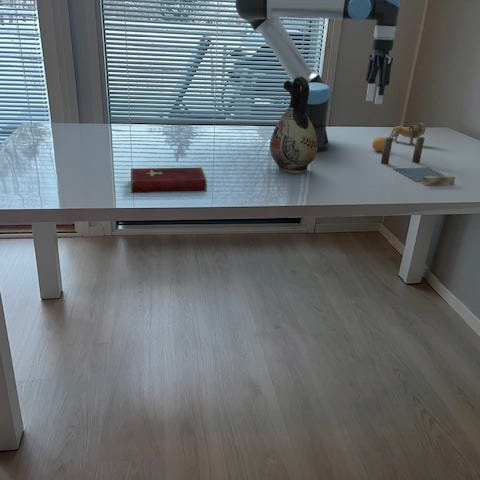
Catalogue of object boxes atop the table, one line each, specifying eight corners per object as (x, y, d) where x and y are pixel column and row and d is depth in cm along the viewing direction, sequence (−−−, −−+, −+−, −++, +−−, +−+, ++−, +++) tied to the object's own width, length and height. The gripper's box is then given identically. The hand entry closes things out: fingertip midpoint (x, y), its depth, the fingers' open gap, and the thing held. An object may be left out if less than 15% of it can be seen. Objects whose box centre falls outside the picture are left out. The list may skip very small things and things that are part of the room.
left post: (383, 164, 172) (387, 139, 168) (379, 162, 174) (383, 137, 170) (389, 164, 173) (394, 139, 169) (386, 162, 175) (390, 137, 171)
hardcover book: (206, 193, 139) (206, 178, 137) (131, 194, 135) (130, 180, 133) (201, 179, 149) (201, 166, 148) (131, 181, 145) (130, 167, 143)
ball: (375, 153, 186) (377, 138, 183) (368, 149, 191) (371, 135, 188) (388, 152, 187) (390, 138, 185) (381, 149, 192) (383, 135, 190)
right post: (414, 163, 175) (419, 138, 171) (410, 161, 177) (415, 136, 173) (420, 163, 176) (426, 138, 172) (416, 161, 178) (421, 136, 174)
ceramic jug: (260, 164, 165) (266, 72, 152) (301, 162, 170) (310, 72, 157) (282, 180, 151) (290, 79, 138) (325, 176, 156) (337, 79, 143)
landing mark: (415, 182, 155) (415, 181, 155) (393, 169, 167) (393, 168, 167) (453, 180, 158) (453, 179, 158) (428, 167, 170) (428, 167, 170)
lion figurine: (422, 144, 203) (427, 122, 199) (421, 146, 199) (426, 124, 195) (386, 139, 208) (390, 118, 204) (385, 142, 203) (388, 120, 199)
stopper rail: (425, 185, 152) (427, 178, 151) (421, 183, 153) (423, 176, 152) (453, 184, 154) (455, 177, 153) (449, 182, 156) (451, 175, 155)
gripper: (406, 40, 173) (395, 106, 182) (379, 37, 189) (370, 98, 199) (387, 40, 171) (377, 106, 181) (362, 36, 188) (353, 98, 198)
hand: (373, 102), depth 190 cm, fingers open, 6 cm apart
